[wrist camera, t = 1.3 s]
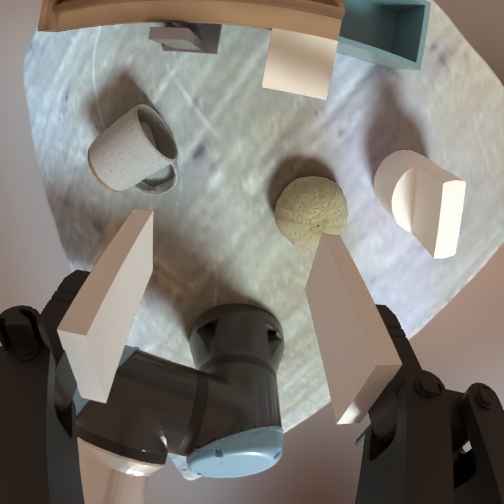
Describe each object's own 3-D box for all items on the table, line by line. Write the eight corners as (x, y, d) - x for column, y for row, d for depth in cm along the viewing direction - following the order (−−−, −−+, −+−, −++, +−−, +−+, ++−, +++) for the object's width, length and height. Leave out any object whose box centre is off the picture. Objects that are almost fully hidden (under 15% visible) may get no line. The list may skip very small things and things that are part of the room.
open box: (390, 68, 32) (420, 70, 25) (309, 45, 31) (324, 38, 24) (400, 11, 27) (430, 3, 21) (320, -15, 26) (337, -34, 20)
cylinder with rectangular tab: (373, 151, 37) (417, 182, 27) (432, 148, 37) (486, 178, 26) (372, 216, 42) (409, 264, 31) (428, 209, 41) (474, 252, 31)
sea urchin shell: (356, 174, 37) (360, 238, 35) (335, 200, 44) (337, 255, 42) (281, 165, 36) (279, 232, 34) (271, 194, 44) (269, 251, 42)
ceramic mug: (99, 138, 35) (71, 155, 29) (150, 99, 33) (128, 106, 27) (146, 203, 40) (129, 231, 34) (198, 169, 38) (189, 192, 32)
